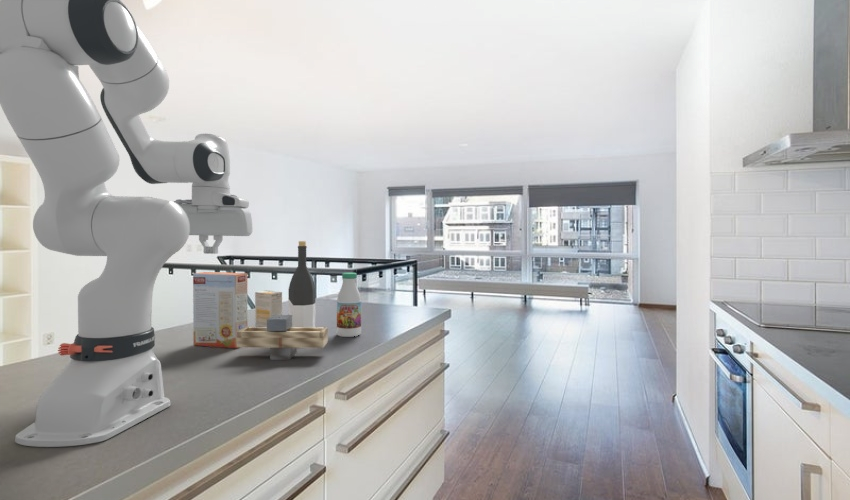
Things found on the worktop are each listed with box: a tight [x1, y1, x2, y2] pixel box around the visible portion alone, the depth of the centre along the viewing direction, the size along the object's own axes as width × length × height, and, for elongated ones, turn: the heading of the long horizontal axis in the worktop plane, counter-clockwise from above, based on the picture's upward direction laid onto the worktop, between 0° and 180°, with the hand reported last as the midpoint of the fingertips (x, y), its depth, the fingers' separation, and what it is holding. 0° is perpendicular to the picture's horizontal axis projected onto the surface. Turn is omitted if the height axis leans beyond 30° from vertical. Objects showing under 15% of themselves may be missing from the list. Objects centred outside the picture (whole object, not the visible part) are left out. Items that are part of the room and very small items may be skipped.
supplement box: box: [254, 289, 283, 327], centre depth 144 cm, size 8×5×13 cm, turn 58°
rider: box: [267, 314, 292, 331], centre depth 116 cm, size 5×6×5 cm
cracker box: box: [192, 271, 249, 349], centre depth 126 cm, size 14×6×21 cm, turn 76°
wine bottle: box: [287, 240, 316, 327], centre depth 135 cm, size 8×8×30 cm
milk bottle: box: [336, 272, 362, 338], centre depth 140 cm, size 8×8×20 cm
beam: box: [237, 326, 329, 361], centre depth 116 cm, size 22×7×7 cm, turn 92°
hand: (210, 253), depth 113 cm, fingers closed
